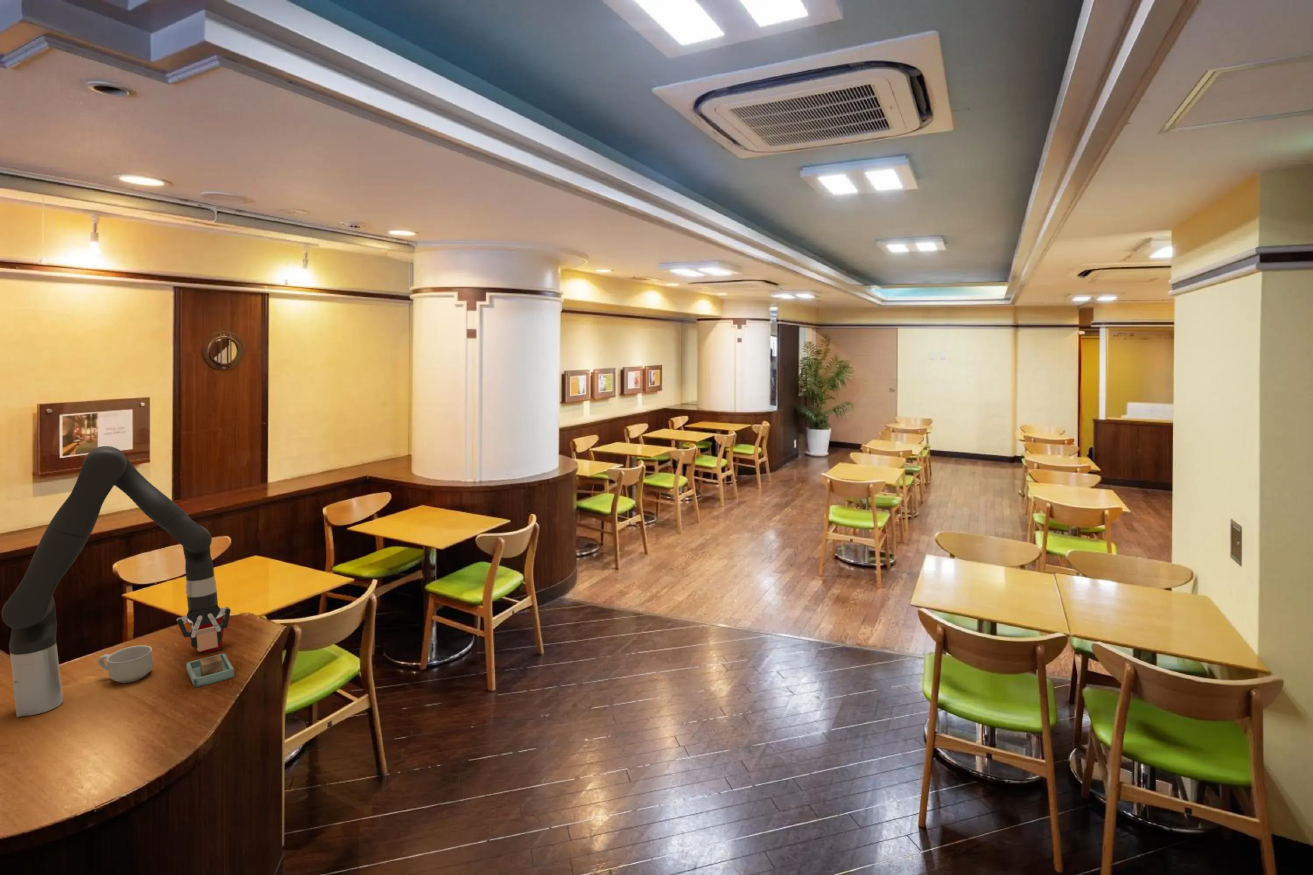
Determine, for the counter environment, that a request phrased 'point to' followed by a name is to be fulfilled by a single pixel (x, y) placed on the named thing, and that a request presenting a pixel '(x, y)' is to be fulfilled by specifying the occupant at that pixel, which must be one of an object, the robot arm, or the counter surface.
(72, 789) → the counter surface
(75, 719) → the counter surface
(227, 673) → the tray
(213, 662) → the walnut cube
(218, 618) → the plastic cup
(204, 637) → the terracotta cube
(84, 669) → the counter surface
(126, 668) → the teacup
